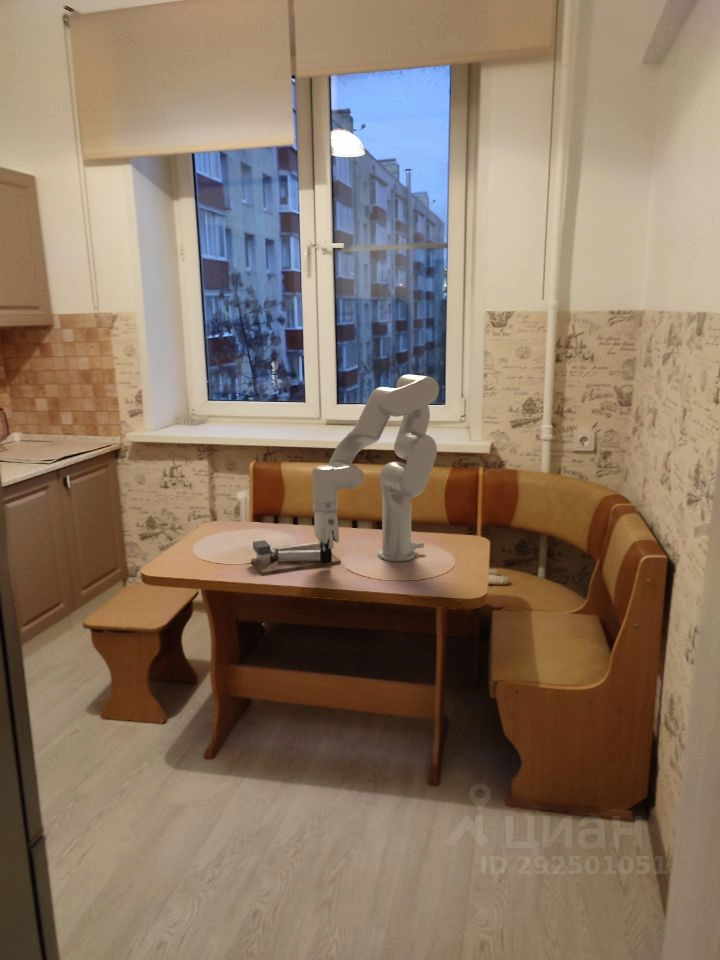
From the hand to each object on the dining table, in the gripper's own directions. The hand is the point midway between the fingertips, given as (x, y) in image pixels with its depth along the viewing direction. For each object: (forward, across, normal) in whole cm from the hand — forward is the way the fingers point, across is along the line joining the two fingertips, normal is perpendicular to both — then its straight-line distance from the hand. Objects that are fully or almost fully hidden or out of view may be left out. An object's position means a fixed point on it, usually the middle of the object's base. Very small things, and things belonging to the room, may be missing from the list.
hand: (326, 561), depth 210 cm
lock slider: (-2, +12, +17) cm, 21 cm away
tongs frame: (+1, +12, +7) cm, 14 cm away
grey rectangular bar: (+1, +8, +6) cm, 10 cm away
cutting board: (+2, +9, +7) cm, 12 cm away
